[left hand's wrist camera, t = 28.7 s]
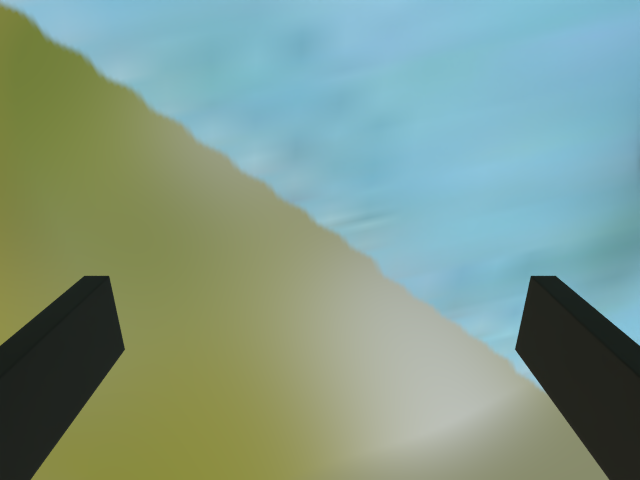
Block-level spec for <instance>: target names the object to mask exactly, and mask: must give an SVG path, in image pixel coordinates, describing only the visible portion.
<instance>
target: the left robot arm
mask: <svg viewBox="0 0 640 480" xmlns="http://www.w3.org/2000/svg"><path fill="white" fill-rule="evenodd" d="M124 350H125V348H124V344H123V339H122V334H121V329H120V325H119V320H118V315H117V311H116V306H115V302H114V297H113V292H112V287H111V283H110V278H109V276H84V277H83V278H81V279H80V280H79V281H78V282H77V283H75V284H74V285H73V286H72V287H71V288H69V289H68V290H67V291H66V292H65V293H63V294H62V295H61V296H60V297H59V298H57V299H56V300H55V301H54V302H53V303H51V304H50V305H49V306H48V307H47V308H45V309H44V310H43V311H42V312H41V313H39V314H38V315H37V316H36V317H35V318H33V319H32V320H31V321H30V322H29V323H27V324H26V325H25V326H24V327H23V328H21V329H20V330H19V331H18V332H16V333H15V334H14V335H13V336H12V337H10V338H9V339H8V340H7V341H6V342H4V343H3V344H2V345H1V346H0V480H31V478H32V477H33V476H34V474H35V473H36V471H37V470H38V469H39V467H40V466H41V464H42V463H43V462H44V460H45V459H46V458H47V456H48V455H49V454H50V452H51V451H52V449H53V448H54V447H55V445H56V444H57V442H58V441H59V440H60V438H61V437H62V436H63V434H64V433H65V431H66V430H67V429H68V427H69V426H70V425H71V423H72V422H73V420H74V419H75V418H76V416H77V415H78V413H79V412H80V411H81V409H82V408H83V407H84V405H85V404H86V402H87V401H88V400H89V398H90V397H91V396H92V394H93V393H94V391H95V390H96V389H97V387H98V386H99V384H100V383H101V382H102V380H103V379H104V378H105V376H106V375H107V373H108V372H109V371H110V369H111V368H112V366H113V365H114V364H115V362H116V361H117V360H118V358H119V357H120V355H121V354H122V353H123V351H124ZM515 350H516V351H517V353H518V354H519V355H520V357H521V358H522V360H523V361H524V362H525V364H526V365H527V367H528V368H529V369H530V371H531V372H532V373H533V375H534V376H535V378H536V379H537V380H538V382H539V383H540V384H541V386H542V387H543V389H544V390H545V391H546V393H547V394H548V396H549V397H550V398H551V400H552V401H553V402H554V404H555V405H556V407H557V408H558V409H559V411H560V412H561V413H562V415H563V416H564V418H565V419H566V420H567V422H568V423H569V424H570V426H571V427H572V429H573V430H574V431H575V433H576V434H577V436H578V437H579V438H580V440H581V441H582V442H583V444H584V445H585V447H586V448H587V449H588V451H589V452H590V454H591V455H592V456H593V458H594V459H595V460H596V462H597V463H598V465H599V466H600V467H601V469H602V470H603V471H604V473H605V474H606V476H607V477H608V478H609V480H640V346H639V345H638V344H637V343H636V342H634V341H633V340H632V339H631V338H630V337H628V336H627V335H626V334H625V333H624V332H622V331H621V330H620V329H619V328H618V327H616V326H615V325H614V324H613V323H612V322H610V321H609V320H608V319H607V318H605V317H604V316H603V315H602V314H601V313H599V312H598V311H597V310H596V309H595V308H593V307H592V306H591V305H590V304H589V303H587V302H586V301H585V300H584V299H583V298H581V297H580V296H579V295H578V294H577V293H575V292H574V291H573V290H572V289H571V288H569V287H568V286H567V285H566V284H565V283H563V282H562V281H561V280H560V279H559V278H557V277H556V276H531V278H530V283H529V287H528V292H527V297H526V301H525V306H524V311H523V315H522V320H521V325H520V329H519V334H518V339H517V343H516V348H515Z"/></svg>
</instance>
